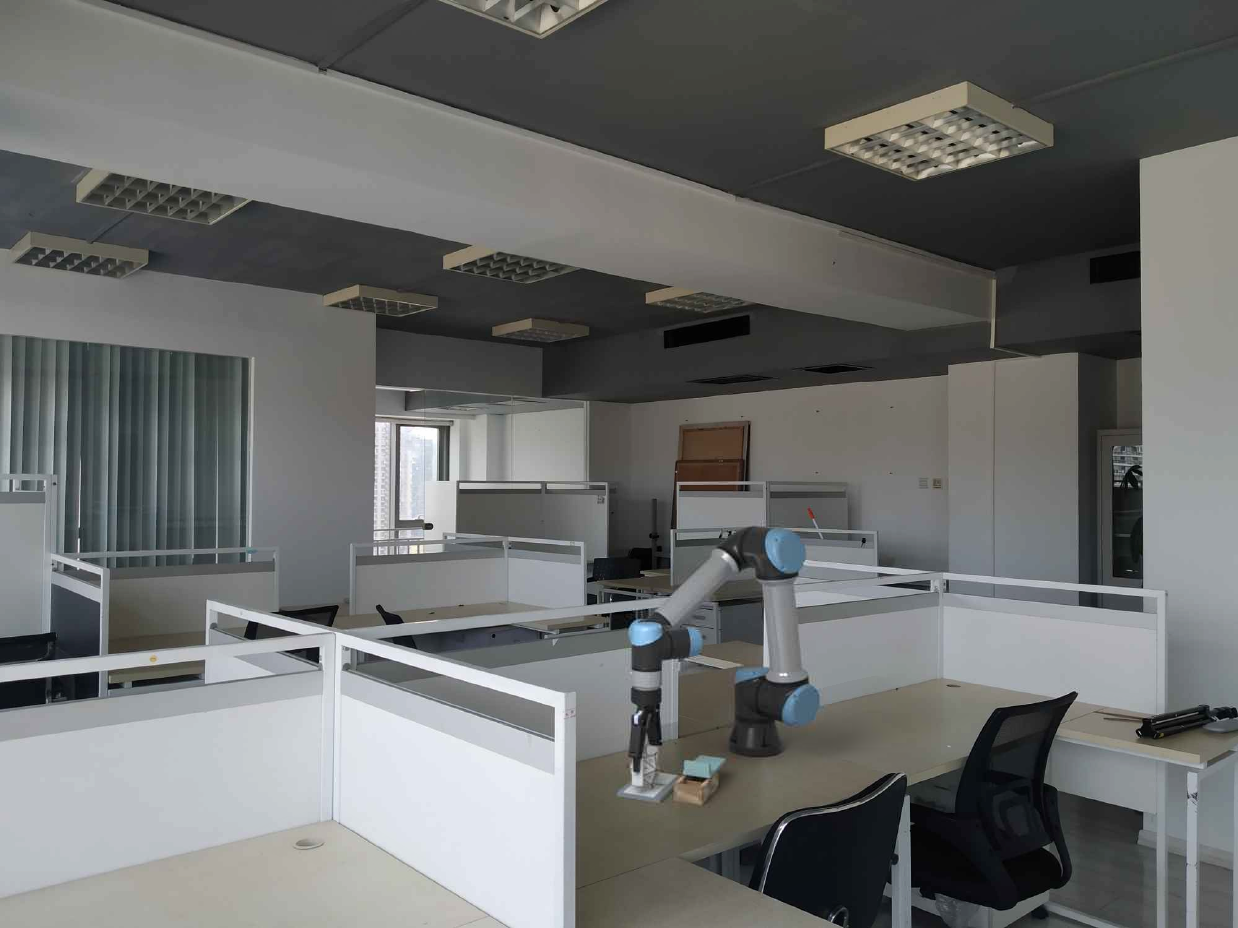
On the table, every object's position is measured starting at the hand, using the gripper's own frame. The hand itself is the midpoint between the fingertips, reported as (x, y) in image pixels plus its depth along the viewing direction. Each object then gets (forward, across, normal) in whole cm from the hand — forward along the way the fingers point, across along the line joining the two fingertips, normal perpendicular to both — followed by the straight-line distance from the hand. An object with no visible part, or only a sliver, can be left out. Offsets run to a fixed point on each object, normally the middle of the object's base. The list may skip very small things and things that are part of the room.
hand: (645, 778), depth 220 cm
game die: (+2, 0, 0) cm, 2 cm away
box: (+4, -5, +12) cm, 13 cm away
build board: (+4, -4, 0) cm, 6 cm away
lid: (-1, -12, +12) cm, 17 cm away
